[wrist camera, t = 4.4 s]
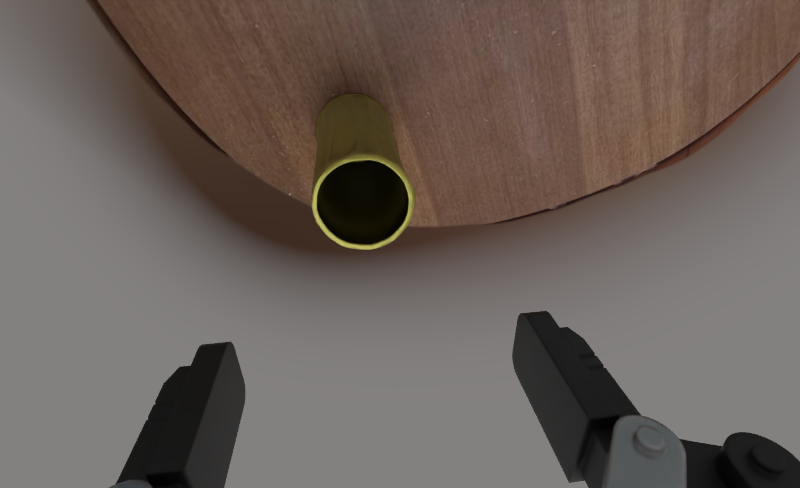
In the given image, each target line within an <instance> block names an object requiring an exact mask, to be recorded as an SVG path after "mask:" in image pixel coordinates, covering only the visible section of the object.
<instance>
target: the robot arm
mask: <svg viewBox="0 0 800 488" xmlns="http://www.w3.org/2000/svg"><path fill="white" fill-rule="evenodd" d="M512 357H513V364H514V369H515V372H516V375H517V377H518V379H519V381H520V383H521V385H522V387H523V389H524V391H525V393H526V395H527V397H528V399H529V401H530V404H531V406H532V407H533V410H534V412H535V414H536V416H537V418H538V420H539V422H540V424H541V426H542V428H543V430H544V432H545V434H546V436H547V438H548V440H549V442H550V444H551V447H552V448H553V451H554V453H555V455H556V456H557V459H558V461H559V463H560V465H561V467H562V469H563V471H564V473H565V475H566V477H567V479H568V481H569V483H571V482H577V481H584V480H585V482H586V483H587V485H588V487H589V488H800V462H799V461H798V459H797V458H795V457H794V456H793V455H792V454H791V453H790V452H789V451H787V450H786V449H784V448H783V447H781V446H780V445H778V444H777V443H775V442H773V441H771V440H769V439H767V438H765V437H762V436H759V435H756V434H752V433H746V432H739V433H734V434H731V435H730V436H729V437H727V439H726V441H725V443H724V444H723V446H717V445H710V444H705V443H699V442H693V441H687V440H682V439H678V437H677V436H676V435H675V434H674V433H673V432H672V431H671V430H670V429H668V428H667V427H666V426H664V425H663V424H661V423H659V422H658V421H656V420H653V419H651V418H648V417H645V416H641V414H640V413H639V412H638V411H637V409H636V408H635V407H634V405H633V404H632V403H631V401H630V400H629V399H628V397H627V396H626V395H625V393H624V392H623V391H622V389H621V388H620V387H619V385H618V384H617V383H616V381H615V380H614V379H613V377H612V376H611V375H610V373H609V372H608V371H607V369H606V368H604V367H603V364H602V363H601V361H600V360H599V359H598V357H597V356H595V355H594V352H593V351H592V349H591V348H590V347H589V345H588V344H587V343H586V341H585V340H584V339H583V338H582V337H581V336H579V335H578V334H576V333H575V332H574V331H572V330H571V329H569V328H568V327H563V328H559V326H558V325H557V323H556V322H555V320H554V319H553V318H552V316H551V315H550V313H548V312H547V311H541V312H531V313H521V314H520V315H519V316H518V320H517V327H516V333H515V340H514V347H513V355H512ZM155 402H156V404H155V405H154V406H153V407H152V410H151V412H150V414H149V416H148V420H147V421H146V422H145V424H144V426H143V429H142V431H141V433H140V435H139V437H138V439H137V441H136V443H135V445H134V447H133V450H132V452H131V454H130V456H129V458H128V460H127V462H126V464H125V466H124V469H123V470H122V473H121V475H120V477H119V479H118V481H117V483H116V484H115V485H113V486H111V487H110V488H224V485H225V482H226V477H227V473H228V469H229V465H230V461H231V457H232V453H233V449H234V445H235V441H236V437H237V432H238V428H239V424H240V420H241V416H242V412H243V407H244V403H245V384H244V379H243V376H242V372H241V369H240V365H239V362H238V359H237V355H236V352H235V349H234V346H233V344H232V343H231V342H224V343H214V344H205V345H201V346H200V347H199V348H198V350H197V352H196V355H195V357H194V360H193V362H192V364H191V366H184V367H179V368H178V369H177V370H176V371H175V372H174V374H172V376H171V377H170V378H169V379H168V380H167V381H166V382H165V383H164V385H163V386H162V389H161V391H160V393H159V395H158V397H157V399H156V401H155Z"/></svg>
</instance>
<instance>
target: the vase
mask: <svg viewBox="0 0 800 488" xmlns="http://www.w3.org/2000/svg"><path fill="white" fill-rule="evenodd" d="M315 131H316V132H315V134H316V140H317V151H316V163H315V170H314V178H313V188H312V198H311V207H312V212H313V215H314V218H315V220H316V222H317V224H318V225H319V226H320V228H321V229H322V230H323V231H324V233H325V234H326V235H327V236H328V237H329V238H330V239H332V240H333V241H335V242H337V243H338V244H340V245H342V246H344V247H347V248H352V249H364V250H367V249H368V250H369V249H375V248H379V247H382V246H384V245H386V244H389V243H390V242H392V241H394V240H395V239H396V238H397V237H398V236H399V235H400V234H401V233H402V232H403V231H404V230H405V228H406V227H407V226H408V224H409V222H410V220H411V218H412V215H413V210H414V205H415V191H414V188H413V186H412V184H411V182H410V180H409V179H408V177H407V175H406V173H405V170H404V168H403V165H402V163H401V160H400V156H399V152H398V145H397V142H396V139H395V136H394V135H393V127H392V123H391V120H390V118H389V115H388V113H387V112H386V110H385V109H384V108H383V107H382V106H381V105H380V104H379V103H378V102H377V101H375V100H374V99H372V98H370V97H368V96H365V95H361V94H345V95H342V96H339V97H337V98H335V99H333V100H332V101H330V102H329V103H328V104H327V105H326V106H325V107H324V108H323V110H322V111H321V113H320V115H319V117H318V120H317V123H316V130H315Z"/></svg>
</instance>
